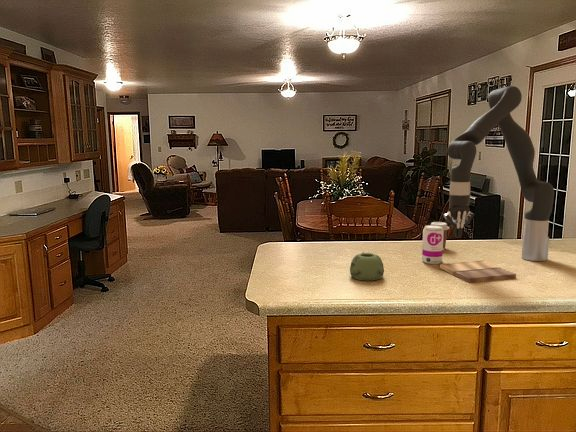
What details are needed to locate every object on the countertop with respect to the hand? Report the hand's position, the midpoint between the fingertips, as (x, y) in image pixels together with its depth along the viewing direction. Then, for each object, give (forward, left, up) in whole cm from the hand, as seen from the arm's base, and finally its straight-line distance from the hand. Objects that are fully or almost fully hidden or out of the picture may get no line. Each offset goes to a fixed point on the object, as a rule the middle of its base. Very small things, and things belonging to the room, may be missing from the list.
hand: (457, 237), depth 188 cm
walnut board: (-4, +11, -13) cm, 18 cm away
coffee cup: (-13, -35, -13) cm, 39 cm away
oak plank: (-4, +2, -13) cm, 14 cm away
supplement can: (+3, -14, -13) cm, 19 cm away
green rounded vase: (+38, -3, -13) cm, 40 cm away
